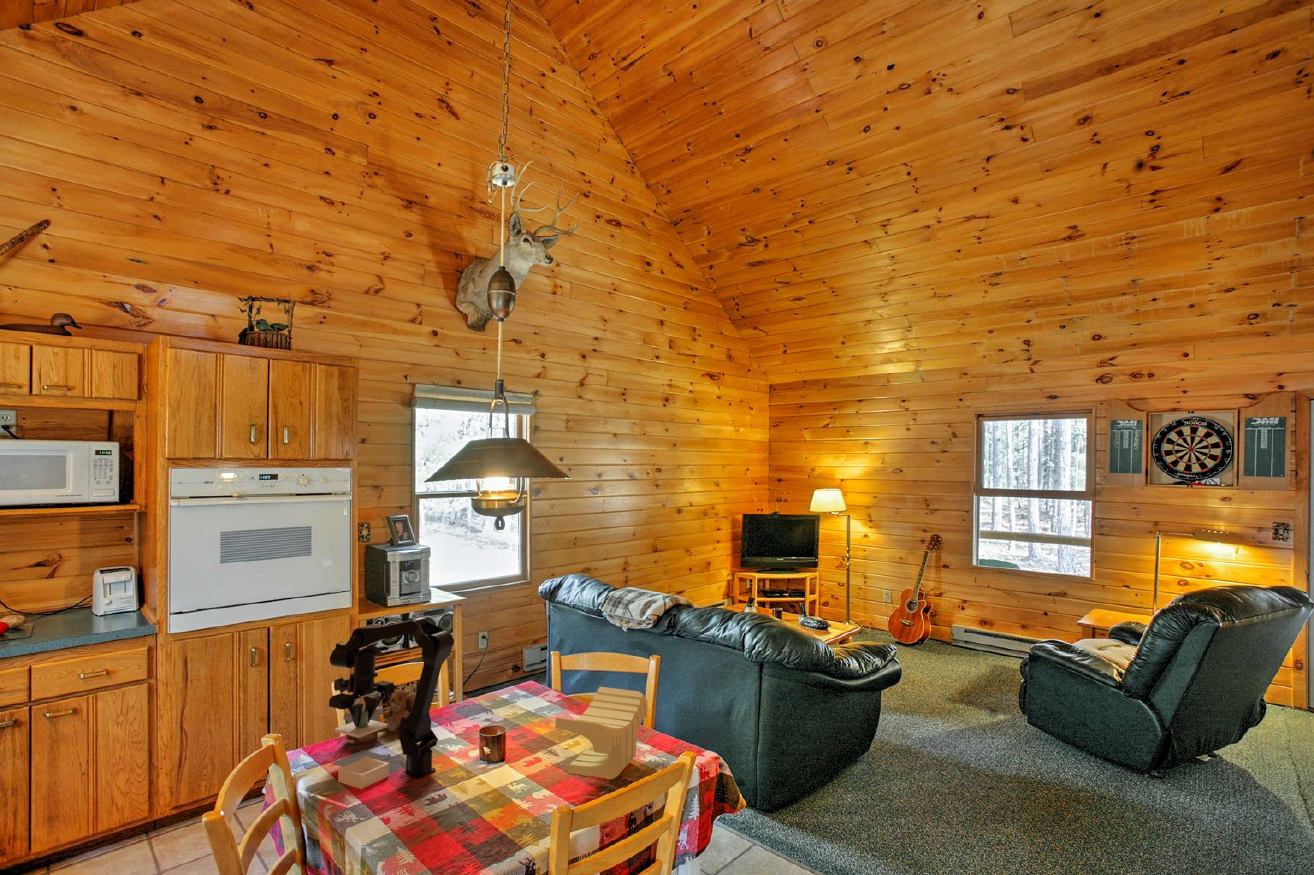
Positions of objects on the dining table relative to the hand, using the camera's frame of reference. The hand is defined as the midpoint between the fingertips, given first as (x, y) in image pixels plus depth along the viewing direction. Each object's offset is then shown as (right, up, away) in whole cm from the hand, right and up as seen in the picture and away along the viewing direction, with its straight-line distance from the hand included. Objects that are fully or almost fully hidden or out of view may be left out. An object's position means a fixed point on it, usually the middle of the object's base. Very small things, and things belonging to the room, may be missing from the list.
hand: (361, 724), depth 198 cm
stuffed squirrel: (+1, -13, +26) cm, 29 cm away
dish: (+6, -10, -13) cm, 17 cm away
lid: (0, -1, 0) cm, 1 cm away
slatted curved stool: (+70, -12, -2) cm, 71 cm away
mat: (0, -11, -1) cm, 11 cm away
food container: (-5, -12, +14) cm, 19 cm away
